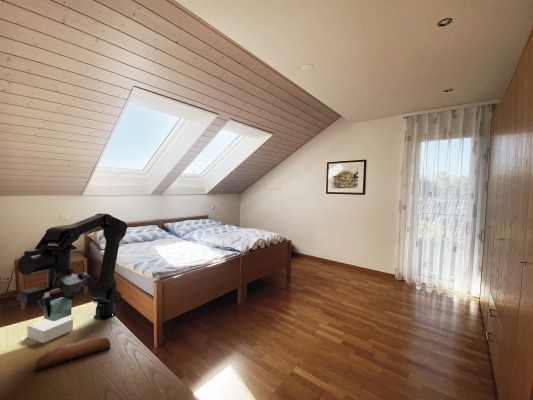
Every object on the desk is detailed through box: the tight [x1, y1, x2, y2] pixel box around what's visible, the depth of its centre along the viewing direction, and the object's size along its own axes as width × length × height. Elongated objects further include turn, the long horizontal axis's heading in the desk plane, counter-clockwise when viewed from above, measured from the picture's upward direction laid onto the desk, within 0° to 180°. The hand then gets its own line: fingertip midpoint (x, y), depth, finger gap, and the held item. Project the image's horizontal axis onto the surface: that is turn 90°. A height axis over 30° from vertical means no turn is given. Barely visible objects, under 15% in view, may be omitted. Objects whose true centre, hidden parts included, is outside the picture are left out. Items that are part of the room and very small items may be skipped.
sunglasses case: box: [34, 337, 111, 372], centre depth 76 cm, size 18×7×7 cm, turn 130°
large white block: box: [27, 316, 74, 344], centre depth 87 cm, size 9×9×4 cm
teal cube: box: [43, 296, 73, 321], centre depth 80 cm, size 5×5×5 cm
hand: (57, 313), depth 80 cm, fingers closed on teal cube, 5 cm apart
